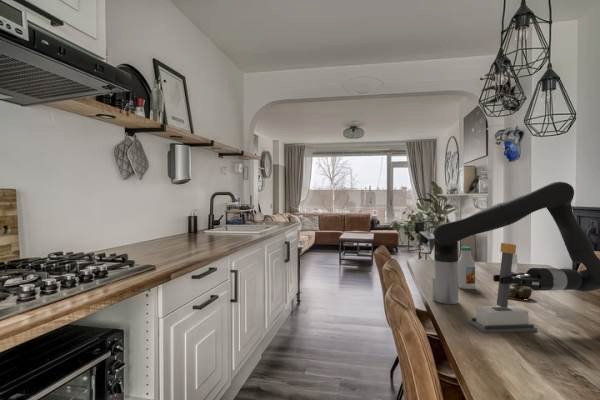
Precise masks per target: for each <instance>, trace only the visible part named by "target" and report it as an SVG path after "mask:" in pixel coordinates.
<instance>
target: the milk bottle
mask: <svg viewBox="0 0 600 400" xmlns="http://www.w3.org/2000/svg"><path fill="white" fill-rule="evenodd" d="M460 251H461V253H460V257H458V289H463V290H474V289H476V263H475V260H474V258H473V256H472V247H471V246H461V247H460Z"/></svg>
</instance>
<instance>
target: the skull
mask: <svg viewBox="0 0 600 400" xmlns="http://www.w3.org/2000/svg"><path fill="white" fill-rule="evenodd" d="M532 291H533V290H532V289H531V288H530V287H526V286H517V285H513V284H512V283H511V284H510V286H509V296H508V300H509V299H511V300H514V301H522V302H527V301H526V300H524V299H528V298H529V297H531V296H532ZM528 300H529V299H528Z"/></svg>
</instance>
